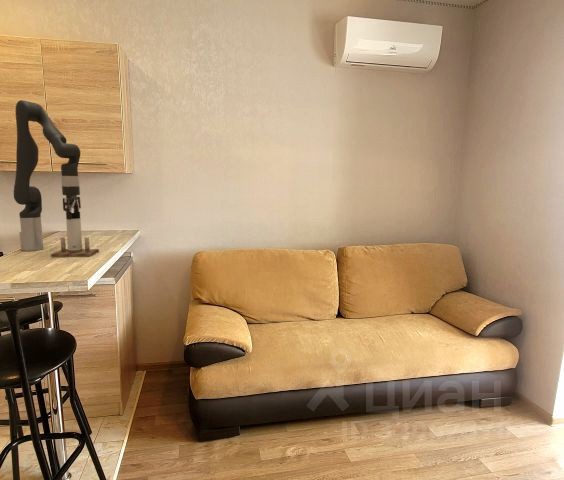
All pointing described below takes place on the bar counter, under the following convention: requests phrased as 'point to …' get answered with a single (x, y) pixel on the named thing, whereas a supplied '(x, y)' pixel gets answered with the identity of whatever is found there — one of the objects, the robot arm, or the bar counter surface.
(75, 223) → the travel mug
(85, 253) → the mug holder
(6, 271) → the bar counter surface
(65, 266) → the bar counter surface
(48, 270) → the bar counter surface
